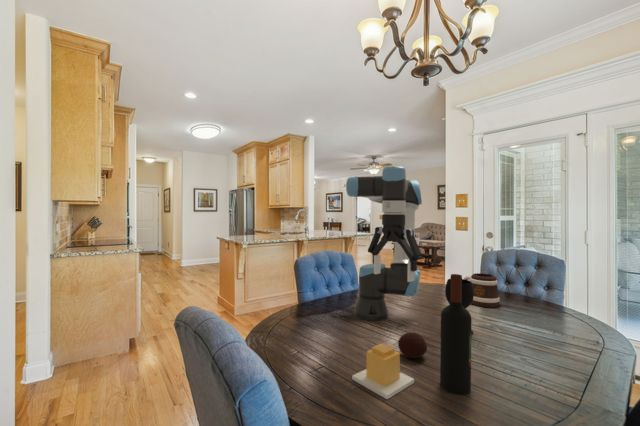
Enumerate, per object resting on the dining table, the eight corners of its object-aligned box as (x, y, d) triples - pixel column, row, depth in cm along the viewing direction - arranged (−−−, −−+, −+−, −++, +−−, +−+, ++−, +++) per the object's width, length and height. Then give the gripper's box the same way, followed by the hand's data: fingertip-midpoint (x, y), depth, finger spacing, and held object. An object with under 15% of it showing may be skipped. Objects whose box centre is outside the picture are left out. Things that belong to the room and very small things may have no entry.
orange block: (366, 376, 85) (366, 347, 85) (381, 369, 89) (381, 341, 89) (385, 386, 80) (385, 355, 80) (399, 378, 84) (399, 348, 84)
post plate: (352, 379, 85) (352, 357, 85) (379, 365, 93) (379, 346, 93) (387, 399, 76) (387, 375, 76) (414, 382, 84) (414, 360, 84)
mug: (506, 305, 157) (506, 276, 157) (487, 309, 150) (488, 279, 150) (471, 296, 174) (471, 270, 174) (453, 299, 167) (453, 272, 167)
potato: (395, 351, 103) (395, 328, 103) (423, 351, 103) (423, 328, 103) (401, 362, 95) (401, 337, 95) (431, 363, 95) (431, 338, 95)
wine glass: (476, 337, 116) (477, 284, 116) (447, 334, 118) (448, 282, 118) (469, 327, 126) (469, 278, 126) (442, 325, 128) (442, 277, 128)
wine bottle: (435, 379, 86) (436, 272, 86) (460, 378, 86) (462, 272, 86) (448, 395, 78) (449, 278, 78) (476, 394, 79) (478, 277, 79)
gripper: (358, 213, 108) (357, 272, 109) (421, 215, 89) (420, 286, 90) (371, 212, 113) (371, 269, 114) (434, 214, 94) (433, 282, 95)
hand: (393, 277), depth 102 cm, fingers open, 13 cm apart
